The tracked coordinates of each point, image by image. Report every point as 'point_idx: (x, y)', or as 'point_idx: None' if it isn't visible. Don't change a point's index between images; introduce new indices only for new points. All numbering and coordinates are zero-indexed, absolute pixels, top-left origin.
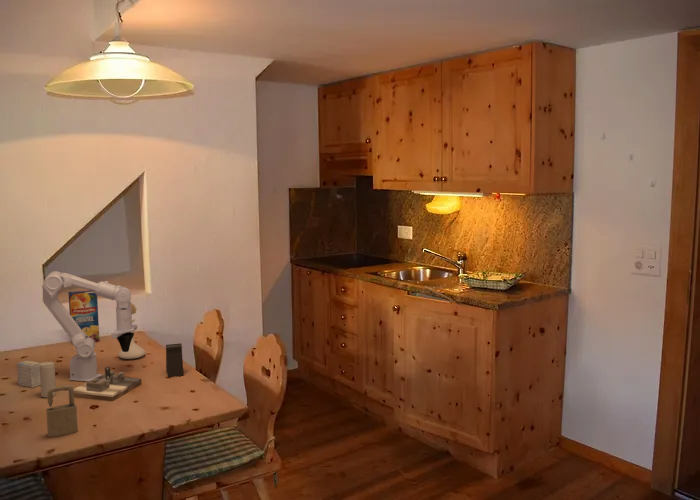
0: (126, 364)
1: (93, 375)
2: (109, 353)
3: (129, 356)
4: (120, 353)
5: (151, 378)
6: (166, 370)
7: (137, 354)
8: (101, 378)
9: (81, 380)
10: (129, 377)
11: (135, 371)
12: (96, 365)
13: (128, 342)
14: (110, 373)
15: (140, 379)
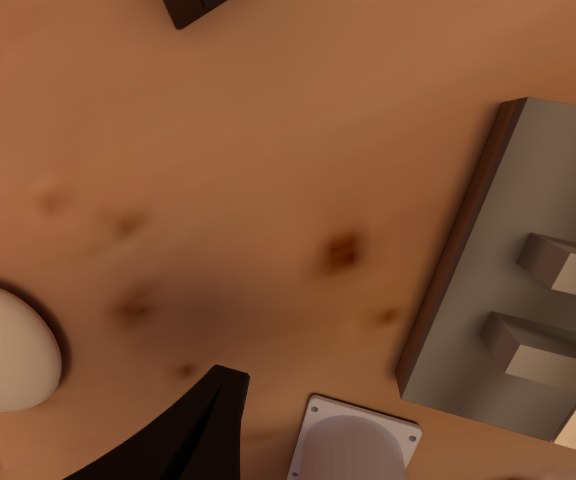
0: (119, 330)
1: (379, 436)
2: (5, 437)
3: (46, 346)
4: (33, 400)
5: (359, 77)
6: (199, 10)
7: (9, 313)
8: (479, 387)
9: (407, 464)
10: (482, 210)
11: (222, 245)
12: (344, 478)
13: (196, 463)
14: (571, 356)
15: (536, 100)
